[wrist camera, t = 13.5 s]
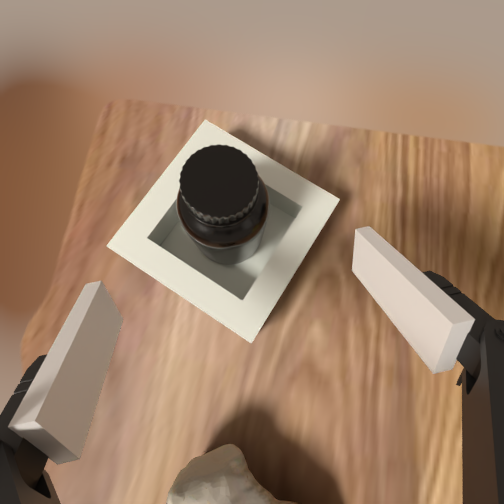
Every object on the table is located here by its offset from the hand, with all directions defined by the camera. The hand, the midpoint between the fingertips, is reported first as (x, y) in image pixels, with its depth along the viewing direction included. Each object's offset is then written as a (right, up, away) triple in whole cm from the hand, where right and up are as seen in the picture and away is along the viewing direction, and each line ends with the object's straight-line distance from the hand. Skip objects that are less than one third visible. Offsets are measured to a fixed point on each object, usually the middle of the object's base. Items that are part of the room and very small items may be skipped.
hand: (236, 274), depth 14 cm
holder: (-2, +3, +14) cm, 15 cm away
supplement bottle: (-1, +3, +14) cm, 14 cm away
